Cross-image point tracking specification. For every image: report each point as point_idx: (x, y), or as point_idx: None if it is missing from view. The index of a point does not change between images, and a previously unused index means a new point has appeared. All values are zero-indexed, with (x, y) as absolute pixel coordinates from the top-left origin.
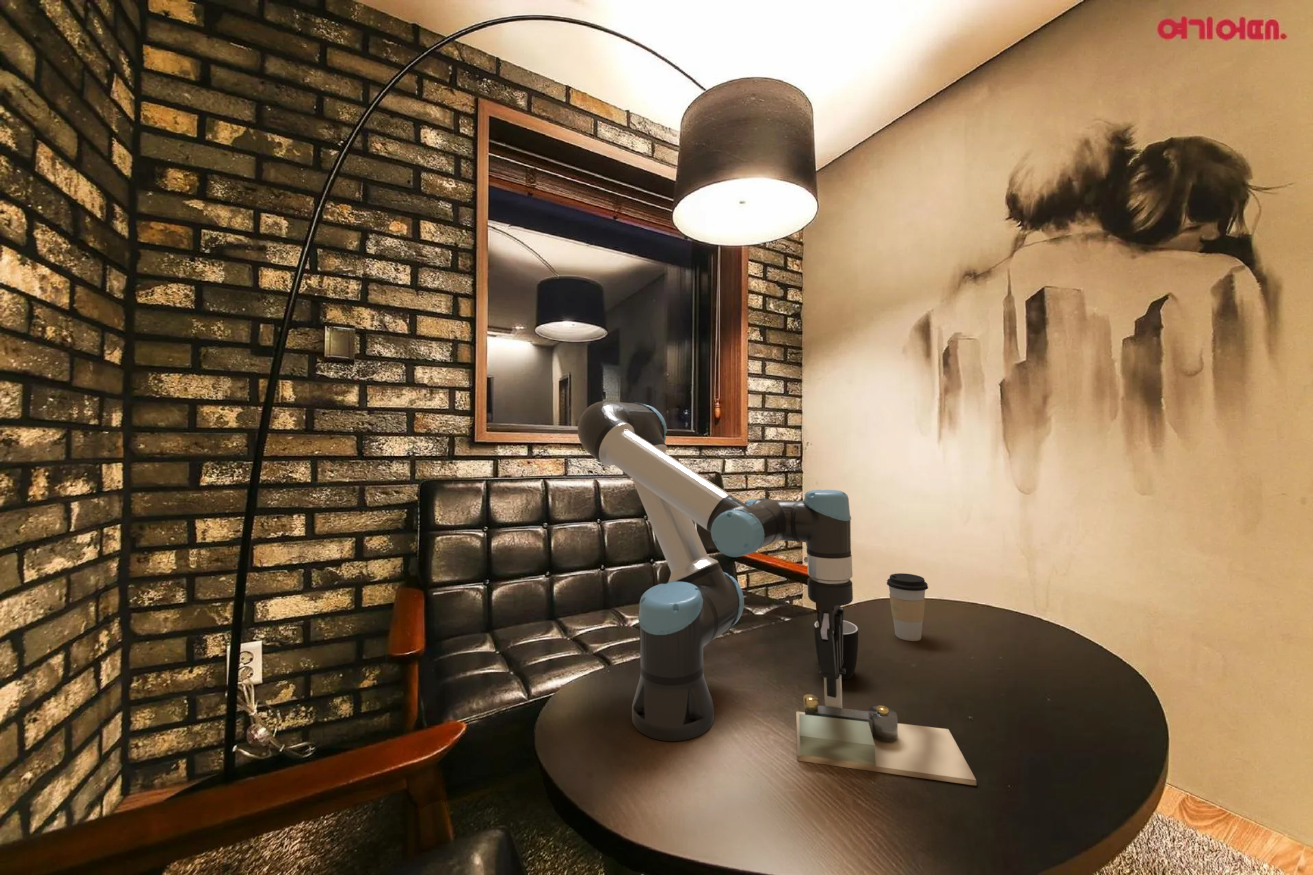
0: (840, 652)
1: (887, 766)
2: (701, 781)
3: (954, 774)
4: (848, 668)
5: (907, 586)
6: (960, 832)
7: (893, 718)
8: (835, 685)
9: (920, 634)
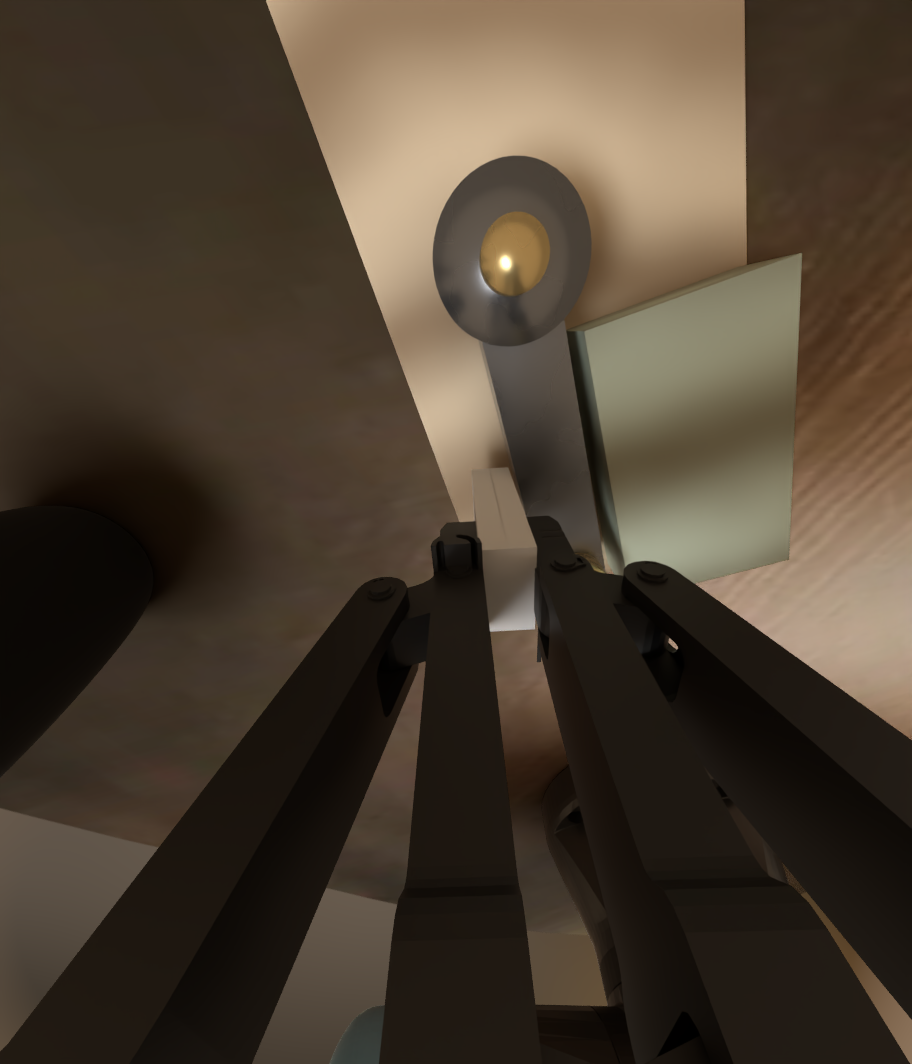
0: (449, 659)
1: (733, 211)
2: (882, 679)
3: None
4: (71, 532)
5: None
6: None
7: (547, 177)
8: (557, 545)
9: None
